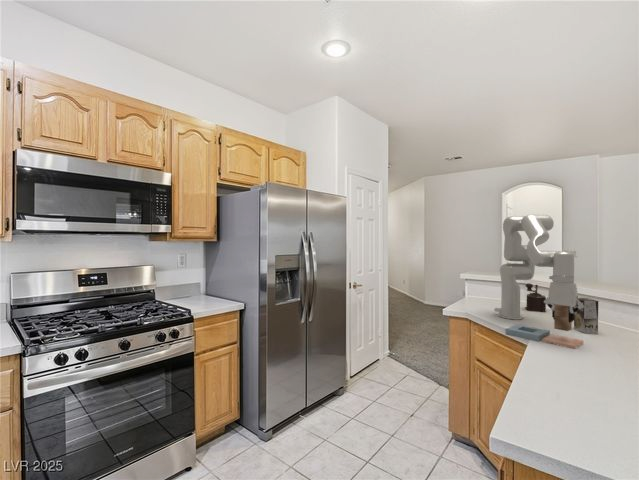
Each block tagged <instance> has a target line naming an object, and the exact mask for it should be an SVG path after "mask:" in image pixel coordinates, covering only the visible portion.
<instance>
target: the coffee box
mask: <svg viewBox="0 0 639 480" xmlns="http://www.w3.org/2000/svg"><path fill="white" fill-rule="evenodd" d="M578 300H579V301H580V302H581V303H582V304H583V305H584V308H582V309H580V310H578V311H576V312H575V313H574V321H573V329H574V330H576V331H578V332H581V333H583V334H590V335H591V334H593V335H598V334H599V302H600V301H599V300H595V299H592V298H588V297H578ZM576 307H578V305H576V306H574V308H576Z"/></svg>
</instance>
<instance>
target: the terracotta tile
mask: <svg viewBox="0 0 639 480" xmlns="http://www.w3.org/2000/svg"><path fill="white" fill-rule="evenodd" d="M541 341H543V343H547V342H549V343H548V344H551V343H553V344H552V345H556V344H558V345H557V346H560V345H561V347H565V346H566V348H569V347H571V349H574V348H575V349H577V348H579V347H580V346H582V345H583V344H584V340H583V339H578V338H572V337H568V336H562V335H558V334H553V333H550V335H549V336H547V337H545V338H543V339H542V340H541ZM578 346H579V347H578ZM576 347H577V348H576Z"/></svg>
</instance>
